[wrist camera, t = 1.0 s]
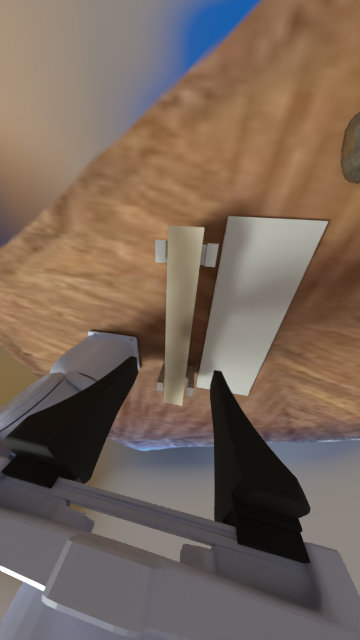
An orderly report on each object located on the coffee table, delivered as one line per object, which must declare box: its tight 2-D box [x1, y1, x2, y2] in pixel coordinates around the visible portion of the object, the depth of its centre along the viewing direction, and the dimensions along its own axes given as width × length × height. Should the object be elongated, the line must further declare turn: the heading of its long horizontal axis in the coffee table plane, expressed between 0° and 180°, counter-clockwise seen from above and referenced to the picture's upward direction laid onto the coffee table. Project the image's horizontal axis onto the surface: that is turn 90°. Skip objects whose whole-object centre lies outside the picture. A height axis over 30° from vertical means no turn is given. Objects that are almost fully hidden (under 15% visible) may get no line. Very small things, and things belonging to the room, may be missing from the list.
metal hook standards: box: [155, 240, 219, 396], centre depth 19 cm, size 6×22×5 cm, turn 176°
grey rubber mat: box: [197, 216, 328, 396], centre depth 21 cm, size 10×28×1 cm, turn 176°
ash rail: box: [164, 225, 204, 406], centre depth 18 cm, size 3×24×3 cm, turn 176°
